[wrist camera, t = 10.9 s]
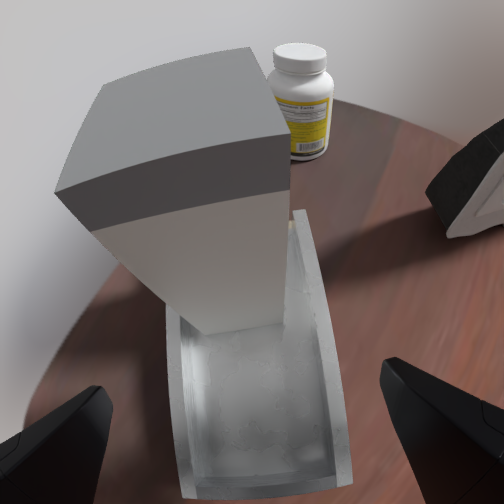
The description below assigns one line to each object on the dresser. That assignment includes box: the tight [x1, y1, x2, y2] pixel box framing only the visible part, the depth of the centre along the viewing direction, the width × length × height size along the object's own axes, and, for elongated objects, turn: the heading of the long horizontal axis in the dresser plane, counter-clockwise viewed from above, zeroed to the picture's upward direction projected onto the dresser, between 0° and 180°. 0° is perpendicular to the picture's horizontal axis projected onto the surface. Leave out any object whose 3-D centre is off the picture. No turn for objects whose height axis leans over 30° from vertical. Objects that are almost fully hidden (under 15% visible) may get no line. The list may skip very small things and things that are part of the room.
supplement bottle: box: [267, 43, 334, 161], centre depth 21 cm, size 5×5×10 cm
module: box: [54, 47, 291, 335], centre depth 11 cm, size 5×5×13 cm
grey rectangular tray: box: [166, 209, 353, 500], centre depth 15 cm, size 18×9×4 cm, turn 6°
